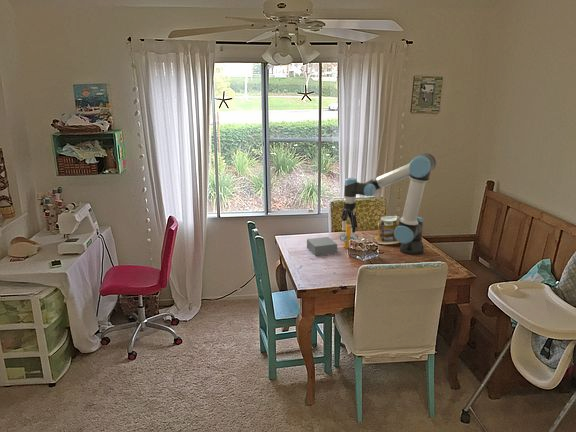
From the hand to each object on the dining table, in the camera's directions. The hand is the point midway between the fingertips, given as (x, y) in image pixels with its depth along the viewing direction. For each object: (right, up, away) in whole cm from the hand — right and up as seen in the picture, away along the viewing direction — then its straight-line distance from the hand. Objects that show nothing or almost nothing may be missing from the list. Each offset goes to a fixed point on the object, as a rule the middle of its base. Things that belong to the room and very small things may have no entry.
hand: (348, 233), depth 322 cm
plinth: (-18, -11, -3) cm, 21 cm away
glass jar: (+31, -6, +14) cm, 34 cm away
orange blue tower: (0, -9, +3) cm, 10 cm away
